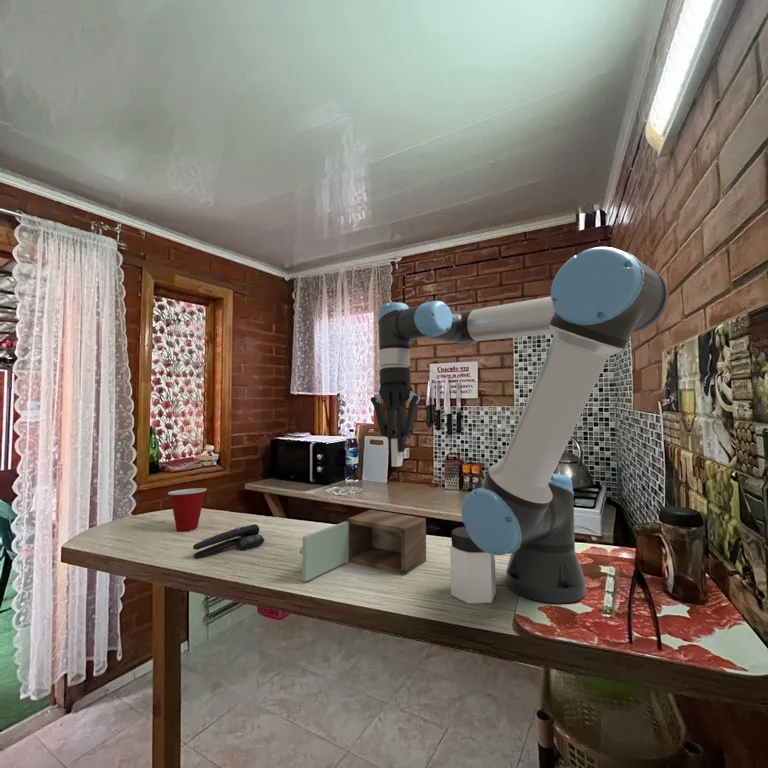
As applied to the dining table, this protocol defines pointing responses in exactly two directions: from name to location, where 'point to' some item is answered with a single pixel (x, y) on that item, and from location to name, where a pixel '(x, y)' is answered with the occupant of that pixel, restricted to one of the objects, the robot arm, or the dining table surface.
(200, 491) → the plastic cup
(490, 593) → the jar
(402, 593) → the dining table surface
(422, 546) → the case
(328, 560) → the door
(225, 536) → the can opener
